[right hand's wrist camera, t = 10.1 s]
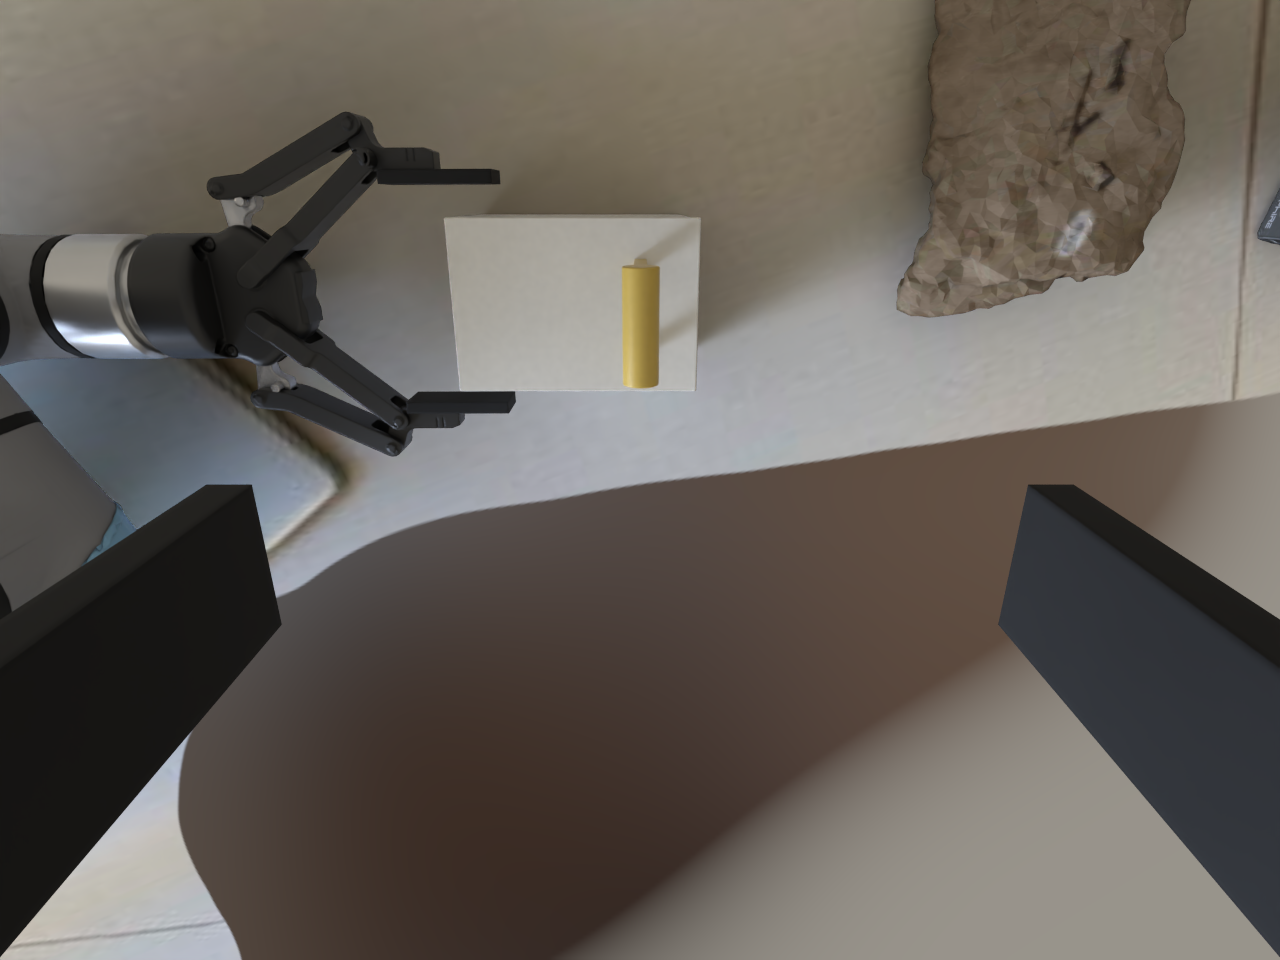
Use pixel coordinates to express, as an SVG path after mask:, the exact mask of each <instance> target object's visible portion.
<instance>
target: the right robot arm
mask: <svg viewBox="0 0 1280 960" xmlns="http://www.w3.org/2000/svg"><path fill="white" fill-rule="evenodd" d="M998 625H999V626H1000V627H1001V628H1002V629H1003V631H1004V632H1005V633H1006V634H1007V635H1008V637H1009V638H1010V639H1011V640H1012V641H1013V642H1014V644H1015V645H1016V646H1017V647H1018V648H1019V649H1020V651H1021V652H1022V653H1023V654H1024V655H1025V657H1026V658H1027V659H1028V660H1029V661H1030V662H1031V664H1032V665H1033V666H1034V667H1035V668H1036V670H1037V671H1038V672H1039V673H1040V674H1041V675H1042V677H1043V678H1044V679H1045V680H1046V681H1047V683H1048V684H1049V685H1050V686H1051V687H1052V689H1053V690H1054V691H1055V692H1056V693H1057V694H1058V696H1059V697H1060V698H1061V699H1062V700H1063V701H1064V703H1065V704H1066V705H1067V706H1068V707H1069V709H1070V710H1071V711H1072V712H1073V713H1074V714H1075V716H1076V717H1077V718H1078V719H1079V720H1080V722H1081V723H1082V724H1083V725H1084V726H1085V727H1086V729H1087V730H1088V731H1089V732H1090V733H1091V734H1092V736H1093V737H1094V738H1095V739H1096V740H1097V742H1098V743H1099V744H1100V745H1101V746H1102V748H1103V749H1104V750H1105V751H1106V752H1107V753H1108V755H1109V756H1110V757H1111V758H1112V759H1113V760H1114V762H1115V763H1116V764H1117V765H1118V766H1119V768H1120V769H1121V770H1122V771H1123V772H1124V774H1125V775H1126V776H1127V777H1128V778H1129V779H1130V781H1131V782H1132V783H1133V784H1134V785H1135V787H1136V788H1137V789H1138V790H1139V791H1140V792H1141V794H1142V795H1143V796H1144V797H1145V798H1146V800H1147V801H1148V802H1149V803H1150V804H1151V805H1152V807H1153V808H1154V809H1155V810H1156V811H1157V813H1158V814H1159V815H1160V816H1161V817H1162V818H1163V820H1164V821H1165V822H1166V823H1167V824H1168V826H1169V827H1170V828H1171V829H1172V830H1173V831H1174V833H1175V834H1176V835H1177V836H1178V837H1179V839H1180V840H1181V841H1182V842H1183V843H1184V844H1185V846H1186V847H1187V848H1188V849H1189V850H1190V851H1191V853H1192V854H1193V855H1194V856H1195V857H1196V859H1197V860H1198V861H1199V862H1200V863H1201V864H1202V866H1203V867H1204V868H1205V869H1206V870H1207V872H1208V873H1209V874H1210V875H1211V876H1212V878H1213V879H1214V880H1215V881H1216V882H1217V883H1218V885H1219V886H1220V887H1221V888H1222V889H1223V891H1224V892H1225V893H1226V894H1227V895H1228V896H1229V898H1230V899H1231V900H1232V901H1233V902H1234V903H1235V905H1236V906H1237V907H1238V908H1239V909H1240V911H1241V912H1242V913H1243V914H1244V915H1245V916H1246V918H1247V919H1248V920H1249V921H1250V922H1251V924H1252V925H1253V926H1254V927H1255V928H1256V929H1257V931H1258V932H1259V933H1260V934H1261V935H1262V937H1263V938H1264V939H1265V940H1266V941H1267V942H1268V944H1269V945H1270V946H1271V947H1272V948H1273V950H1274V951H1275V952H1276V953H1277V954H1278V955H1279V957H1280V619H1278V618H1277V617H1275V616H1274V615H1272V614H1271V613H1269V612H1267V611H1266V610H1264V609H1263V608H1261V607H1260V606H1258V605H1257V604H1255V603H1254V602H1252V601H1251V600H1249V599H1248V598H1246V597H1244V596H1243V595H1241V594H1240V593H1238V592H1237V591H1235V590H1234V589H1232V588H1231V587H1229V586H1228V585H1226V584H1225V583H1223V582H1222V581H1220V580H1218V579H1217V578H1215V577H1214V576H1212V575H1211V574H1209V573H1208V572H1206V571H1205V570H1203V569H1202V568H1200V567H1199V566H1197V565H1196V564H1194V563H1193V562H1191V561H1189V560H1188V559H1186V558H1185V557H1183V556H1182V555H1180V554H1179V553H1177V552H1176V551H1174V550H1173V549H1171V548H1170V547H1168V546H1167V545H1165V544H1163V543H1162V542H1160V541H1159V540H1157V539H1156V538H1154V537H1153V536H1151V535H1150V534H1148V533H1147V532H1145V531H1144V530H1142V529H1141V528H1139V527H1137V526H1136V525H1134V524H1133V523H1131V522H1130V521H1128V520H1127V519H1125V518H1124V517H1122V516H1121V515H1119V514H1118V513H1116V512H1115V511H1113V510H1111V509H1110V508H1108V507H1107V506H1105V505H1104V504H1102V503H1101V502H1099V501H1098V500H1096V499H1095V498H1093V497H1092V496H1090V495H1089V494H1087V493H1085V492H1084V491H1082V490H1081V489H1079V488H1078V487H1076V486H1075V485H1028V488H1027V493H1026V498H1025V502H1024V507H1023V512H1022V516H1021V521H1020V526H1019V530H1018V535H1017V540H1016V544H1015V549H1014V554H1013V558H1012V563H1011V568H1010V572H1009V577H1008V582H1007V586H1006V591H1005V596H1004V601H1003V605H1002V610H1001V615H1000V619H999V624H998ZM280 626H281V619H280V614H279V610H278V605H277V601H276V596H275V591H274V586H273V582H272V577H271V572H270V568H269V563H268V558H267V554H266V549H265V544H264V540H263V535H262V530H261V526H260V521H259V516H258V511H257V507H256V502H255V497H254V493H253V488H252V485H205V486H204V487H202V488H201V489H199V490H198V491H196V492H195V493H193V494H191V495H190V496H188V497H187V498H185V499H184V500H182V501H181V502H179V503H178V504H176V505H175V506H173V507H172V508H170V509H169V510H167V511H165V512H164V513H162V514H161V515H159V516H158V517H156V518H155V519H153V520H152V521H150V522H149V523H147V524H146V525H144V526H143V527H141V528H139V529H138V530H136V531H135V532H133V533H132V534H130V535H129V536H127V537H126V538H124V539H123V540H121V541H120V542H118V543H117V544H115V545H113V546H112V547H110V548H109V549H107V550H106V551H104V552H103V553H101V554H100V555H98V556H97V557H95V558H94V559H92V560H91V561H89V562H87V563H86V564H84V565H83V566H81V567H80V568H78V569H77V570H75V571H74V572H72V573H71V574H69V575H68V576H66V577H65V578H63V579H61V580H60V581H58V582H57V583H55V584H54V585H52V586H51V587H49V588H48V589H46V590H45V591H43V592H42V593H40V594H39V595H37V596H35V597H34V598H32V599H31V600H29V601H28V602H26V603H25V604H23V605H22V606H20V607H19V608H17V609H16V610H14V611H13V612H11V613H9V614H8V615H6V616H5V617H3V618H2V619H0V957H1V955H2V954H3V953H4V952H5V951H6V950H7V948H8V947H9V946H10V945H11V944H12V942H13V941H14V940H15V939H16V938H17V937H18V935H19V934H20V933H21V932H22V931H23V929H24V928H25V927H26V926H27V925H28V924H29V922H30V921H31V920H32V919H33V918H34V916H35V915H36V914H37V913H38V912H39V911H40V909H41V908H42V907H43V906H44V905H45V904H46V902H47V901H48V900H49V899H50V898H51V896H52V895H53V894H54V893H55V892H56V891H57V889H58V888H59V887H60V886H61V885H62V883H63V882H64V881H65V880H66V879H67V878H68V876H69V875H70V874H71V873H72V872H73V870H74V869H75V868H76V867H77V866H78V865H79V863H80V862H81V861H82V860H83V859H84V857H85V856H86V855H87V854H88V853H89V852H90V850H91V849H92V848H93V847H94V846H95V844H96V843H97V842H98V841H99V840H100V839H101V837H102V836H103V835H104V834H105V833H106V831H107V830H108V829H109V828H110V827H111V826H112V824H113V823H114V822H115V821H116V820H117V818H118V817H119V816H120V815H121V814H122V813H123V811H124V810H125V809H126V808H127V807H128V805H129V804H130V803H131V802H132V801H133V800H134V798H135V797H136V796H137V795H138V794H139V792H140V791H141V790H142V789H143V788H144V787H145V785H146V784H147V783H148V782H149V781H150V779H151V778H152V777H153V776H154V775H155V774H156V772H157V771H158V770H159V769H160V768H161V766H162V765H163V764H164V763H165V762H166V761H167V759H168V758H169V757H170V756H171V755H172V753H173V752H174V751H175V750H176V749H177V748H178V746H179V745H180V744H181V743H182V742H183V740H184V739H185V738H186V737H187V736H188V735H189V733H190V732H191V731H192V730H193V729H194V727H195V726H196V725H197V724H198V723H199V722H200V720H201V719H202V718H203V717H204V716H205V714H206V713H207V712H208V711H209V710H210V709H211V707H212V706H213V705H214V704H215V703H216V701H217V700H218V699H219V698H220V697H221V696H222V694H223V693H224V692H225V691H226V690H227V688H228V687H229V686H230V685H231V684H232V683H233V681H234V680H235V679H236V678H237V677H238V676H239V674H240V673H241V672H242V671H243V670H244V668H245V667H246V666H247V665H248V664H249V663H250V661H251V660H252V659H253V658H254V657H255V655H256V654H257V653H258V652H259V651H260V649H261V648H262V647H263V646H264V645H265V644H266V642H267V641H268V640H269V639H270V638H271V637H272V635H273V634H274V633H275V632H276V631H277V629H278V628H279V627H280Z"/></svg>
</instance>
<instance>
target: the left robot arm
mask: <svg viewBox="0 0 1280 960" xmlns="http://www.w3.org/2000/svg"><path fill="white" fill-rule="evenodd" d="M350 149H351V150H352V152H353V154H352V155H351V156H350V157H349V158H348V159H347V160H346V161H345V162H344V163H343V164H342V165H341V166H340V168H339V169H338V170H337V171H336V172H335V173H334V174H333V175H332V176H331V177H330V178H329V179H328V180H327V181H326V183H325V184H324V185H323V186H322V187H321V188H320V189H319V190H318V191H317V192H316V193H315V194H314V195H313V197H312V198H311V199H310V200H309V201H308V202H307V203H306V204H305V205H304V206H303V207H302V208H301V209H300V210H299V212H298V213H297V214H296V215H295V216H294V217H293V218H292V219H291V220H290V221H289V222H288V223H287V224H286V225H285V226H283V227H282V228H280V229H279V230H277V231H276V232H275V233H274V234H273V235H272V236H270V235H269V234H267V233H266V232H264V231H263V230H261V229H260V228H258V227H256V226H254V225H252V221H251V220H252V216H253V214H254V213H256V212H258V211H260V210H261V209H262V207H263V204H264V200H263V198H262V197H266V196H270V195H273V194H276V193H278V192H280V191H281V190H283V189H285V188H287V187H288V186H290V185H292V184H293V183H295V182H297V181H298V180H300V179H302V178H303V177H305V176H307V175H308V174H310V173H312V172H313V171H315V170H317V169H318V168H320V167H322V166H323V165H325V164H327V163H328V162H330V161H332V160H333V159H335V158H336V157H338V156H340V155H341V154H343V153H345V152H346V151H348V150H350ZM376 179H377V180H378V184H389V185H451V184H500V172H499V171H498V170H494V169H441V168H440V158H439V153H438V152H436V151H433V150H431V149H427V148H384V147H382V146H381V145H380V144H379V143H378V141H377V139H376V137H375V135H374V133H373V125H372V123H371V122H370V120H369V119H367V118H366V117H363V116H360V115H356V114H353V113H350V112H343V113H341V114H339V115H337V116H336V117H334V118H332V119H331V120H329V121H327V122H326V123H324V124H323V125H321V126H319V127H318V128H316V129H314V130H313V131H311V132H309V133H308V134H306V135H305V136H303V137H301V138H300V139H298V140H296V141H295V142H293V143H291V144H290V145H288V146H287V147H285V148H283V149H282V150H280V151H278V152H277V153H275V154H274V155H272V156H270V157H269V158H267V159H265V160H264V161H262V162H260V163H259V164H257V165H256V166H254V167H252V168H251V169H249V170H247V171H246V172H244V173H242V174H236V175H228V176H221V177H214V178H211V179H210V180H209V181H208V183H207V190H208V192H209V194H210V195H211V196H212V197H213V198H215V199H217V200H220V201H221V204H222V207H223V211H224V214H225V217H226V220H227V223H228V228H226V229H225V230H224V231H222V232H220V233H173V234H152V235H150V236H147V235H145V234H74V235H60V236H49V235H3V234H0V366H3V365H7V364H11V363H15V362H20V361H26V360H36V359H65V358H104V359H162V358H168V357H172V358H240V359H244V360H247V361H250V362H252V363H254V364H256V369H257V380H258V390H256V391H254V392H253V393H252V394H251V401H252V403H253V404H254V405H255V406H256V407H258V408H263V409H272V410H282V411H288V412H291V413H293V414H295V415H297V416H300V417H302V418H304V419H307V420H309V421H311V422H313V423H316V424H318V425H320V426H323V427H325V428H327V429H329V430H332V431H334V432H336V433H339V434H341V435H343V436H345V437H348V438H350V439H352V440H355V441H357V442H359V443H361V444H364V445H366V446H368V447H371V448H373V449H375V450H377V451H380V452H382V453H384V454H387V455H389V456H397V455H399V454H400V453H401V452H402V451H403V450H404V449H405V448H406V447H407V446H408V445H409V443H410V442H411V441H412V432H413V429H414V428H454V427H456V426H459V425H460V424H461V423H462V422H463V421H464V419H465V415H464V413H509V412H510V411H511V409H512V407H513V406H514V404H515V403H516V399H515V391H479V392H417V393H416V394H415V395H414V396H413V397H412V398H410V399H409V400H408V399H407V398H405V397H404V396H402V395H401V394H400V393H398V392H397V391H396V390H394V389H393V388H392V387H390V386H389V385H388V384H386V383H385V382H384V381H382V380H381V379H380V378H378V377H377V376H376V375H374V374H373V373H371V372H370V371H369V370H367V369H366V368H365V367H363V366H362V365H361V364H359V363H358V362H357V361H355V360H354V359H353V358H351V357H350V356H349V355H347V354H346V353H345V352H343V351H342V350H340V349H339V348H338V347H337V346H336V345H335V342H334V341H333V340H332V339H331V338H329V337H328V336H327V335H325V334H324V333H323V332H321V331H320V330H318V326H319V323H320V320H323V316H322V310H321V306H320V304H319V301H318V299H317V297H316V285H317V280H316V274H315V269H311V268H310V266H309V264H308V263H307V261H306V260H305V259H304V258H305V257H306V256H307V255H308V254H309V253H310V252H311V250H312V249H313V248H314V247H315V246H316V245H317V244H318V242H319V239H320V238H321V237H322V236H323V235H324V234H325V233H326V232H327V231H328V230H329V229H330V227H331V226H332V225H333V224H334V223H335V222H336V221H337V220H338V219H339V218H340V217H341V216H342V215H343V214H344V213H345V212H346V211H347V210H348V209H349V208H350V206H351V205H352V204H353V203H354V202H355V201H356V200H357V199H358V198H359V197H360V196H361V195H362V194H363V193H364V192H365V191H366V190H367V189H368V188H369V187H370V186H371V184H372V183H373V182H374V181H375V180H376ZM287 356H289V357H290V358H292V359H293V360H294V361H296V362H297V363H299V364H300V365H302V366H304V367H308V368H311V369H313V370H314V371H316V372H317V373H318V374H320V375H321V376H322V377H324V378H325V379H327V380H328V381H329V382H331V383H332V384H333V385H335V386H336V387H338V388H339V389H340V390H342V391H343V392H344V393H346V394H347V395H349V396H350V397H351V398H353V399H354V400H355V401H357V402H358V403H360V404H361V405H362V406H364V407H365V408H366V409H368V410H369V411H371V412H372V413H373V414H372V413H369V412H367V411H365V410H363V409H360V408H358V407H356V406H354V405H351V404H349V403H347V402H345V401H342V400H340V399H338V398H336V397H333V396H331V395H329V394H327V393H324V392H322V391H320V390H318V389H315V388H313V387H310V386H307V385H303V384H298V383H296V378H295V377H294V376H291V375H290V374H287V373H284V372H283V371H282V370H281V369H280V367H279V364H278V362H280V361H282V360H283V359H284V358H286V357H287ZM374 414H375V415H374ZM135 531H136V529H135V528H134V526H133V525H132V523H131V522H130V521H129V519H128V518H127V517H126V515H125V514H124V513H123V509H122V508H121V505H119V504H118V503H116V502H115V501H112V500H111V499H110V498H109V497H108V495H107V494H106V493H105V492H104V491H103V490H102V489H101V488H100V487H99V486H98V485H97V483H96V482H95V481H94V480H93V479H92V478H91V477H90V476H89V475H88V474H87V473H86V471H85V470H84V469H83V468H82V467H81V466H80V465H79V464H78V463H77V462H76V460H75V459H74V458H73V457H72V456H71V455H70V454H69V453H68V452H67V451H66V450H65V448H64V447H63V446H62V445H61V444H60V443H59V442H58V441H57V440H56V439H55V438H54V436H53V435H52V434H51V433H50V432H49V431H48V430H47V429H46V428H45V427H44V425H43V423H42V422H41V420H40V419H39V418H38V417H37V416H36V415H35V414H34V413H33V411H32V410H31V409H30V407H29V406H28V405H27V404H26V403H25V402H24V401H23V399H22V398H21V397H20V396H19V395H18V394H17V392H16V391H15V390H14V389H13V388H12V387H11V386H10V384H9V383H8V382H7V381H6V380H5V379H4V377H3V376H2V375H1V374H0V619H2V618H3V617H5V616H6V615H8V614H9V613H11V612H13V611H14V610H16V609H17V608H19V607H20V606H22V605H23V604H25V603H26V602H28V601H29V600H31V599H32V598H34V597H35V596H37V595H39V594H40V593H42V592H43V591H45V590H46V589H48V588H49V587H51V586H52V585H54V584H55V583H57V582H58V581H60V580H61V579H63V578H65V577H66V576H68V575H69V574H71V573H72V572H74V571H75V570H77V569H78V568H80V567H81V566H83V565H84V564H86V563H87V562H89V561H91V560H92V559H94V558H95V557H97V556H98V555H100V554H101V553H103V552H104V551H106V550H107V549H109V548H110V547H112V546H113V545H115V544H117V543H118V542H120V541H121V540H123V539H124V538H126V537H127V536H129V535H130V534H132V533H133V532H135Z"/></svg>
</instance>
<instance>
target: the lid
mask: <svg viewBox="0 0 1280 960" xmlns="http://www.w3.org/2000/svg"><path fill="white" fill-rule="evenodd" d="M444 226H445V237H446V247H447V258H448V268H449V279H450V290H451V300H452V311H453V321H454V332H455V343H456V353H457V364H458V374H459V385H460V391H696V376H697V341H698V307H699V273H700V239H701V218H700V217H445V218H444Z"/></svg>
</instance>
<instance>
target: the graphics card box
mask: <svg viewBox="0 0 1280 960" xmlns="http://www.w3.org/2000/svg"><path fill="white" fill-rule="evenodd" d="M1258 239H1260V240H1263V241H1267V242H1270V243H1273V244H1279V245H1280V189H1279V191H1278V193H1277V195H1276V197H1275V200H1274V201H1273V202H1272V205H1271V207H1270V209H1269V211H1268V213H1267V215H1266V217H1265V219H1264V221H1263V222H1262V224H1261V226H1260V228H1259V231H1258Z"/></svg>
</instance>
